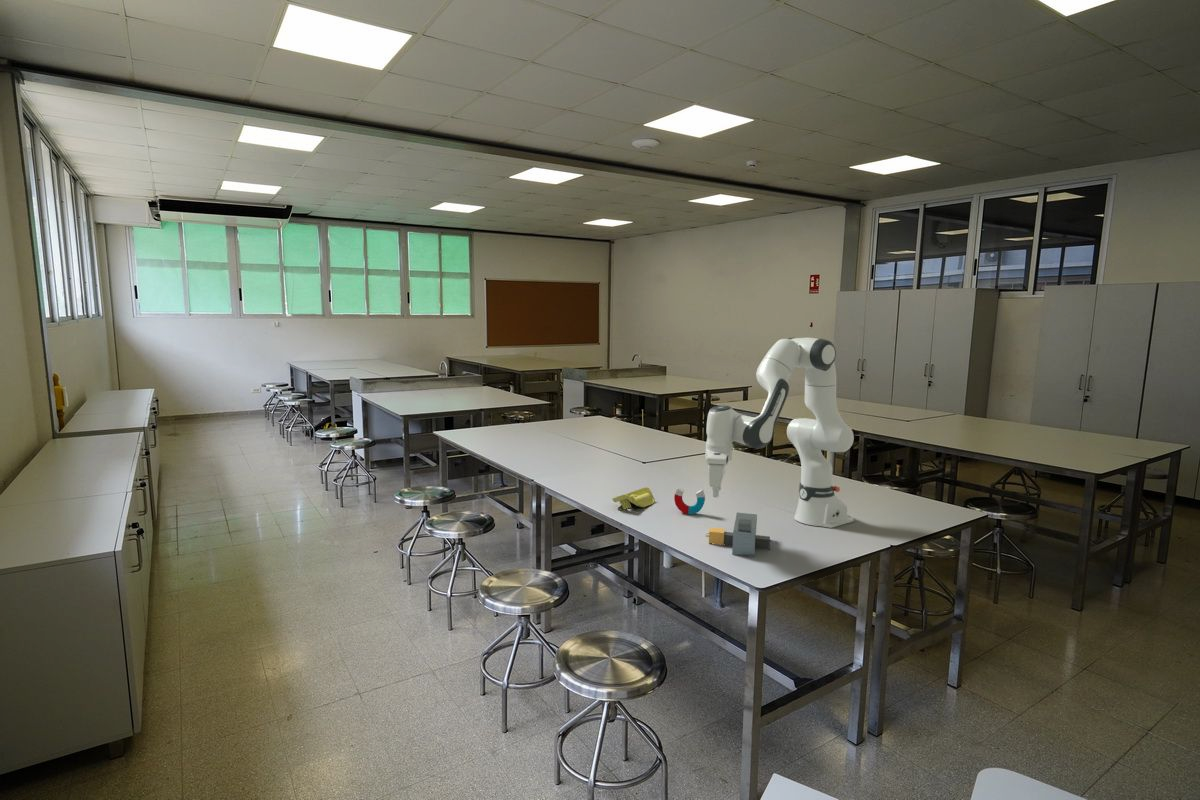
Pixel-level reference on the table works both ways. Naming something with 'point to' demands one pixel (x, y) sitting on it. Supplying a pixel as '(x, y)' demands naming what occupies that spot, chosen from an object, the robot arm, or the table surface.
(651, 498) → the plastic component
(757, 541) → the plug
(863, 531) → the table surface
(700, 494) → the magnet
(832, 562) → the table surface
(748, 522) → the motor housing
